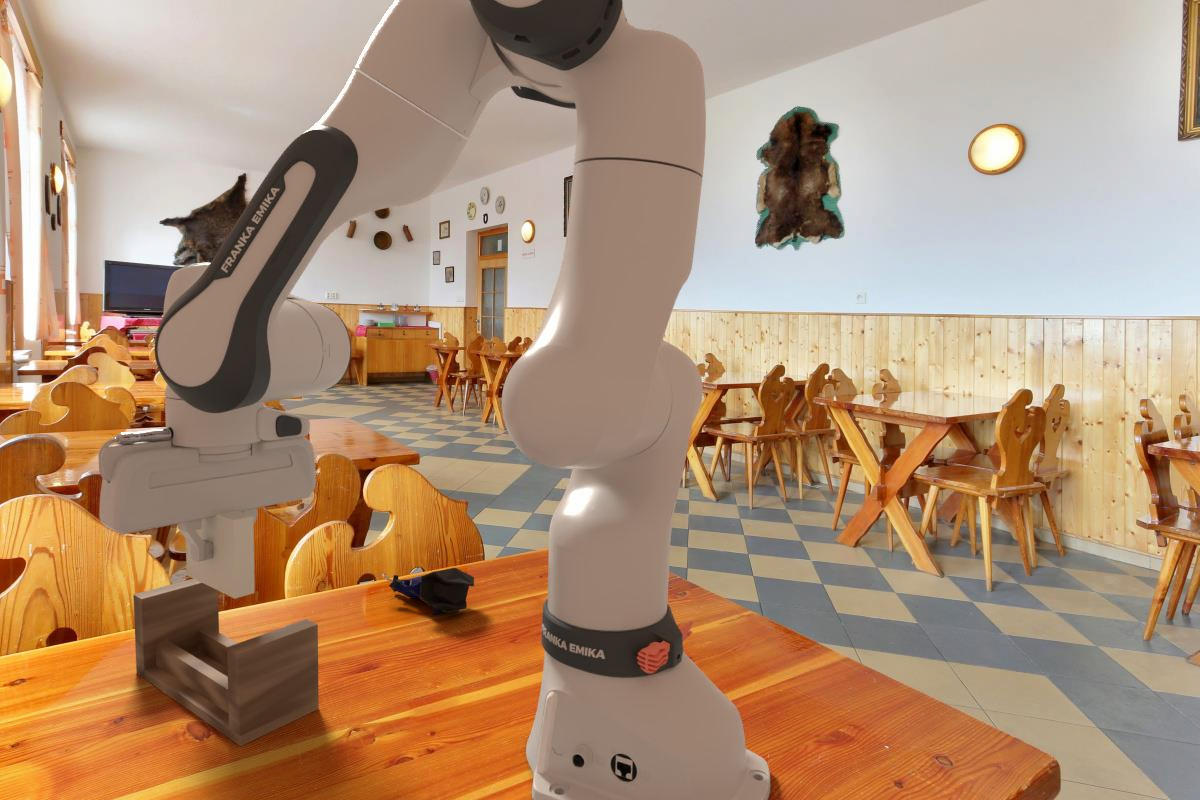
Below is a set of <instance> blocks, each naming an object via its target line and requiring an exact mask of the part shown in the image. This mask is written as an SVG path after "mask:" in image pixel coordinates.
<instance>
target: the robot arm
mask: <svg viewBox="0 0 1200 800" xmlns="http://www.w3.org/2000/svg"><path fill="white" fill-rule="evenodd" d="M623 5H624V3H623V0H394V2H393V3H392V4H391V5H390V7H389V8H388V9H387V11H386V12H385V14H384V15H383V17H382V19H381V20H380V22H379V23H378V25H377V26H376V27H375V30H374V31H373V33H372V34H371V35H370V38H369V40H368V42H367V43H366V45H365V47H364V49H363V50H362V53H361V54H360V56H359V59H358V61H357V62H356V64H355V66H354V67H355V68H356V69H355V68H353V70H352V71H351V73H350V76H349V78H348V79H347V82H346V83H345V86H344V87H343V88H342V91H341V92H340V93H339V95H338V97H337V98H336V99H335V101H334V102H333V103H332V105H331V106H330V107H329V108H328V110H327V111H326V113H324V114H323V116H322V117H321V118H320V119H319V120H318V121H317V122H316V123H315V124H314V125H313V126H312V127H311V128H309V129H308V130H306V131H305V132H303V133H302V134H300V135H299V136H297V137H295V139H294V140H293V141H292V142H291V143H290V144H289V145H288V146H287V147H286V148H285V150H284V151H283V152H282V153H281V155H280V156H279V157H278V159H276V161H275V163H274V164H273V166H272V167H271V169H270V170H269V171H268V173H267V175H266V176H265V177H264V178H263V180H262V182H261V184H260V185H259V187H258V188H257V190H256V191H255V193H254V194H253V196H252V197H251V199H250V200H249V202H248V203H247V206H246V207H245V208H244V210H243V212H242V213H241V214H240V216H239V218H238V219H237V221H236V222H235V224H234V225H233V228H231V231H230V232H229V233H228V235H227V236H226V238H225V239H224V241H223V242H222V244H221V246H220V247H219V249H218V251H217V252H216V254H215V256H214V257H213V259H212V260H211V261H210V262H209V261H207V262H199V263H197V262H196V263H192V264H188V265H185V266H182V267H179V268H178V269H177V270H175V271H174V272H173V273H172V274H171V275H170V277H169V280H168V284H167V287H166V291H165V296H164V303H163V314H162V319H161V321H160V323H159V326H158V328H157V332H156V334H155V338H154V339H155V340H154V357H155V363H156V365H157V369H158V371H159V374H160V375H161V376H162V378H163V381H165V383H166V387H165V390H164V397H165V398H164V401H165V403H164V404H165V405H164V407H165V411H164V412H165V415H164V416H165V428H161V429H160V428H159V429H149V430H146V431H145V430H144V431H137V432H133V431H126V432H120V433H118V434H116V435H115V437H113V438H111V439H109V440H107V441H106V442H105V443H104V444H103V445H102V446H101V447H100V449H99V452H98V473H99V474H100V476H101V478H102V481H101V489H100V497H99V520H100V522H101V524H102V525H104V526H105V527H106V528H107V529H108V530H109V529H110V530H111V531H112V532H116V533H117V534H120V535H126V534H128V535H129V534H132V533H137V532H141V531H142V532H143V531H147V530H152V529H157V528H163V527H168V526H172V525H176V524H177V529H178V530H179V532H180V534H182V536H183V537H184V538H185V540H186V539H187V541H188V542H189V543H190V549H191V558H192V560H194V561H196V562H201V561H204V560H208V559H212V558H213V557H214V553H213V552H212V551H213V549H214V546H213V542H210V541H208V540H206V539H204V540H202V539H201V537H200V536H199V534H198V533H197V532H196V530H199V529H201V528H202V519H204V518H209V517H214V516H216V515H217V514H222V513H227V512H232V511H240V512H242V513H245V514H248V515H251V516H253V526H254V524H255V523H256V521H257V519H258V509H259V508H264V507H268V506H273V505H278V504H282V503H283V504H284V503H289V502H294V501H299V500H304V499H308V498H310V497H311V495H312V494H313V492H314V491H315V488H316V485H317V484H316V483H317V475H316V474H317V473H316V471H317V470H316V459H315V452H314V448H313V445H312V442H311V441H310V440H309V439H308V438H307V437H306V436H308V435H309V433H310V430H311V422H310V418H308V417H306V416H303V415H300V414H296V413H292V412H288V411H284V410H280V409H279V408H276V407H273V406H268V405H265V403H268V402H274V401H283V400H289V399H293V398H298V397H304V396H305V397H306V396H310V395H311V396H312V395H315V394H319V393H321V392H324V391H327V390H330V389H332V388H333V387H336V386H337V384H339V383H340V382H341V381H342V380H343V378H344V377H345V375H346V374H347V371H348V369H349V367H350V363H351V360H352V359H351V358H352V342H351V336H350V332H349V331H348V328H347V325H346V324H345V322H344V320H343V319H342V318H341V317H340V316H339V314H338V313H337V312H336V311H335V310H333V309H331V308H330V307H328V306H327V305H324V304H319V303H317V302H313V301H311V300H308V299H306V298H303V297H300V296H296V295H295V294H293V293H291V292H292V291H293V289H294V288H295V286H296V284H298V282H299V279H301V277H302V275H303V273H304V272H305V270H306V269H307V267H308V265H309V264H310V262H312V260H313V258H314V256H315V255H316V253H317V252H318V250H319V248H320V247H321V245H322V244H323V243H324V241H325V240H326V239H327V238H328V237H329V236H330V235H331V234H332V233H333V232H334V231H336V230H337V229H338V228H339V227H341V226H343V225H344V224H346V223H348V222H350V221H351V220H354V219H356V218H357V217H362V216H363V215H365V214H366V215H367V214H369V213H373V212H376V211H379V210H382V209H383V210H385V209H388V208H393V207H394V208H395V207H400V206H401V207H402V206H406V205H410V204H412V203H417V202H418V201H421V200H423V199H426V198H427V197H429V196H430V195H432V194H433V193H434V191H435V190H436V189H437V188H438V187H439V186H440V185H441V184H442V182H443V181H444V180H445V179H446V177H447V176H448V175H449V173H450V172H451V170H452V169H453V168H454V166H455V164H456V163H457V162H458V159H459V158H460V155H461V154H462V152H463V150H464V148H465V146H466V144H467V142H468V139H469V138H470V137H471V134H472V132H473V130H474V128H475V126H476V124H477V122H478V120H479V118H480V117H481V114H482V113H483V111H484V109H485V107H486V106H487V104H488V103H489V102H490V101H491V99H493V97H494V96H495V95H496V94H498V93H499V92H501V91H503V90H505V89H507V88H511V90H512V92H513V93H514V94H515V96H517V97H519V98H521V99H526V100H531V101H535V102H539V103H540V102H541V103H544V104H549V105H552V106H555V107H558V108H559V107H560V108H564V109H570V110H576V119H577V120H576V122H577V124H576V129H577V130H576V140H575V151H574V160H573V172H572V181H571V191H570V192H571V193H570V201H569V210H568V220H567V231H566V238H565V248H564V252H563V253H564V254H563V256H562V257H563V258H562V263H561V266H560V270H559V274H558V277H557V281H556V283H555V288H554V290H553V292H552V296H551V298H550V301H549V304H548V307H547V310H546V311H545V314H544V317H543V319H542V322H541V324H540V327H539V329H538V332H537V333H536V335H535V337H534V339H533V341H532V343H531V344H530V345H529V346H528V348H527V349H526V350H525V352H524V353H523V354H522V355H521V356H520V357H519V358H518V359H517V360H516V361H515V362H514V364H513V365H512V367H511V368H510V370H509V372H508V373H507V376H506V377H505V378H506V379H505V381H504V384H503V387H502V388H503V389H502V394H501V412H502V418H503V423H504V426H505V430H506V431H507V433H508V435H509V438H510V439H511V441H512V442H513V444H514V446H516V448H517V449H518V450H519V451H520V452H521V454H522V455H524V456H525V457H526V458H528V459H530V460H531V461H532V462H535V463H536V464H538V465H541V466H544V467H548V468H553V469H563V470H571V474H570V477H569V481H568V483H567V487H566V489H565V491H564V494H563V495H562V497H561V500H560V502H558V505H557V506H556V508H555V509H554V512H553V514H552V516H551V521H550V525H549V531H548V532H549V533H548V565H547V566H548V570H547V571H548V573H547V599H546V600H545V601H544V602H543V606H542V615H541V616H542V619H541V645H542V648H543V649H544V660H543V670H542V676H541V677H542V678H541V684H540V691H539V697H538V702H537V709H536V713H535V716H534V720H533V724H532V728H531V731H530V733H529V737H528V739H527V743H526V747H525V756H526V760H527V762H528V765H529V767H530V769H531V772H532V774H533V778H532V779H533V780H532V786H531V798H532V800H769V797H770V794H771V773H770V771H771V770H770V769H769V768H770V767H769V765H768V763H767V760H765V758H764V757H762V756H760V755H758V754H756V753H755V752H753V751H752V750H750V749H747V748H746V738H745V733H744V732H745V731H744V725H743V720H742V718H741V714H740V712H739V710H738V708H737V706H736V705H735V704H734V703H733V701H731V700H730V699H729V698H728V697H727V696H726V694H725V693H723V692H722V691H721V690H720V689H719V688H718V687H717V686H716V685H715V683H714V682H712V680H710V678H709V677H708V676H707V675H706V674H705V673H704V672H703V670H701V669H700V668H699V667H698V665H697V664H696V663H695V662H694V661H693V660H692V659H691V658H690V657H689V656H688V655H687V654H686V653H685V651H684V646H683V645H684V644H683V643H684V641H685V640H686V639H688V638H689V637H690V636H691V635H692V634H693V631H692V630H691V629H692V627H693V622H692V621H689V622H688V623H686V624H685V625H683V626H682V627H681V628H679V626H678V625H677V623H676V620H675V617H674V614H673V612H672V608H671V606H670V605H669V604H668V600H669V599H668V597H669V582H670V581H669V580H670V579H669V578H670V557H671V556H670V555H671V537H672V528H673V523H674V522H673V521H674V515H675V510H676V505H677V499H678V495H679V491H680V486H681V482H682V478H683V474H684V469H685V464H686V459H687V455H688V449H689V444H690V437H691V434H692V433H691V432H692V428H693V425H694V421H695V419H696V416H697V414H698V413H699V410H700V407H701V405H702V401H703V395H704V388H703V387H704V386H703V380H702V375H701V374H700V370H699V368H698V367H697V365H696V364H695V362H694V361H693V360H692V358H691V357H690V356H689V355H688V354H686V353H685V352H684V351H682V350H681V349H680V348H678V347H677V346H675V345H674V344H672V343H669V342H668V341H666V340H664V337H665V334H666V331H667V328H668V324H669V321H670V319H671V315H672V313H673V310H674V306H675V303H676V301H677V299H678V296H679V294H680V292H681V290H682V288H683V286H684V285H685V284H686V282H687V281H688V279H689V278H690V274H691V272H692V269H693V261H694V253H695V246H696V239H697V238H696V236H697V229H698V228H697V227H698V219H699V210H700V203H701V196H702V195H701V194H702V186H703V177H704V168H705V155H706V153H705V152H706V136H707V135H706V133H707V132H706V131H707V130H706V128H707V127H706V124H707V120H706V119H707V118H706V117H707V113H706V90H705V89H706V88H705V87H706V86H705V77H704V75H705V74H704V70H703V66H702V63H701V60H700V57H699V56H698V54H697V53H696V51H694V49H693V48H692V47H691V46H690V45H689V44H688V43H687V42H686V41H684V40H682V39H680V38H678V37H677V36H674V35H673V34H670V33H667V32H663V31H658V30H655V29H654V30H652V29H642V28H637V27H635V26H633V25H631V24H630V23H629V22H628V20H627V17H626V15H625V9H624V6H623ZM357 69H358V70H359V71H358V70H357ZM366 75H367V76H366ZM374 80H375V81H374ZM447 126H448V127H447ZM452 129H453V130H452ZM458 133H459V134H458ZM461 135H462V136H461ZM463 136H464V137H465V138H464V137H463ZM466 138H467V139H466ZM115 443H116V444H115ZM113 444H114V445H113Z"/></svg>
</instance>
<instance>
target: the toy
mask: <svg viewBox="0 0 1200 800" xmlns="http://www.w3.org/2000/svg"><path fill="white" fill-rule="evenodd" d="M381 575H382V578H383V579H385V580H386V581H389V582H391V583H390V584H389V585H388V587H390V589H391V590H392V591H393V593H396V592H397V593H400V594H401V595H404V596H406V597H407V598H409V597H414V598H419V599H420V600H421V601H423V602H424V603H425V604H426V605H428V606H429V607H432V608H434V610H433V611H432V613H431V615H432V616H435V615H437V614H442V613H443V612H444V613H451V612H456V611H457V612H459V611H461V610H466V609H467V607H468V604H467V597H468V592H469V588H470V587H475V576H473V575H470V574H469V573H467V572H465V571H462V570H461V569H459V568H457V567H451V568H447V569H446V568H445V569H441V570H434V571H430V573H427V574H423V575H420V576H416V577H412V578H408V579H407V578H406V579H399V574H394V575H393V578H392V579H391V578H389V577H388V576H387V573H386V572H383V573H382V574H381Z"/></svg>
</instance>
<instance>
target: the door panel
mask: <svg viewBox="0 0 1200 800" xmlns="http://www.w3.org/2000/svg"><path fill="white" fill-rule="evenodd" d="M254 530H255V529H254V525H253V516H251V515H248V514H245V513H242V512H240V511H232V512H227V513H222V514H217V515H216V516H214V517H209V518H204V519H202V528H201V529H199V530H196V532H197V533H198V534H199V536H200V537H201V539H202V540H204V539H206V540H208V541H210V542H213V546H214V549H213V551H212V552H213V553H214V557H213V558H212V559H208V560H204V561H201V562H196V561H194V560H192V558H191V549H190V543H189V542H188V541H187V539H186V538H185V556H186V557H185V560H186V561H185V562H186V563H185V564H186V566H185V567H186V576H188V577H190V578H191V579H196V580H198V581H200V582H202V583H204V584H206V585H208V586H210V587H212V588H214V589H216V590H218V592H220V593H223V594H224V595H226V596H229V597H230V598H232V599H234V600H236V599H240V598H242V597H245V596H249V595H252V594H255V592H256V591H255V589H256V588H255V543H254V539H255V538H254V537H255V535H254V534H255V533H254Z"/></svg>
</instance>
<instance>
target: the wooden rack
mask: <svg viewBox="0 0 1200 800" xmlns="http://www.w3.org/2000/svg"><path fill="white" fill-rule="evenodd" d="M219 611H220V610H219V591H218V590H216V589H214V588H212V587H210V586H208V585H206V584H204V583H202V582H200V581H198V580H196V579H194V578H191V579H186V580H183V581H180V582H175V583H173V584H172V583H171V584H169V585H164V586H161V587H160V586H159V587H157V588H153V589H149V590H146V591H141V592H138V593H134V594H133V618H134V641H135V643H134V644H135V665H136V666H135V668H136V669H135V670H136V674H137V673H138V674H137V675H139V676H140V675H141V676H140V677H142V678H143V679H145V680H146V681H147V682H148V683H150V684H151V685H153V686H155V687H156V688H157V689H158V690H160V691H162V692H163V693H164V694H166V695H167V696H168V697H170V698H172V699H173V700H174V701H176V702H177V703H178V704H180V705H181V706H183V707H184V708H185V709H187V710H189V712H191V713H192V714H194V715H195V716H197V717H198V718H200V719H201V720H203V721H204V722H206V723H207V724H208V725H209V726H211V727H213V728H214V729H216V731H218V732H219V733H221V734H222V735H224V736H225V737H227V738H229V740H231V741H232V742H234V743H235V744H236V745H238V746H239V747H242V746H244V745H246V744H248V743H251V742H252V741H254V740H256V739H258V738H261V737H263V736H265V735H268V734H269V733H271V732H274V731H275V730H277V729H280V728H283V727H284V726H286V725H288V724H290V723H292V722H294V721H297V720H298V719H301V718H302V717H304V716H307V715H309V714H310V713H312V712H315V711H317V710H319V708H320V706H319V705H320V703H319V701H320V700H319V699H320V698H319V697H320V696H319V629H318V628H319V627H318V625H319V624H318V623H316V622H315V621H314V622H313V621H311V620H309V619H307V618H306V619H303V620H300V621H297V622H294V623H291V624H288V625H286V626H283V627H280V628H278V629H277V628H276V629H274V630H272V631H268V632H265V633H264V634H260V635H257V636H254V637H252V638H249V639H246V640H243V641H240V642H237V641H235V640H233V639H231V638H229V637H228V636H226V635H224V634H223V633H221V632H220V620H219V618H220V617H219V616H220V615H219Z"/></svg>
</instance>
